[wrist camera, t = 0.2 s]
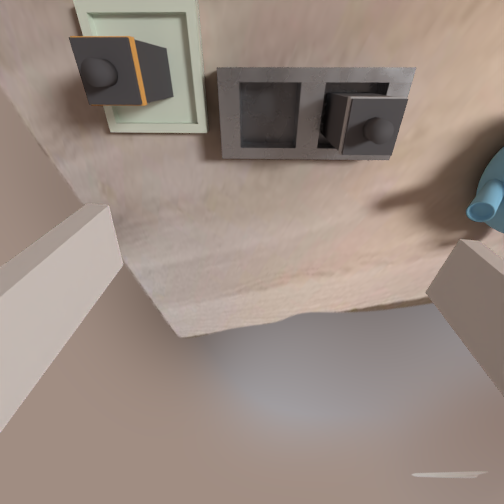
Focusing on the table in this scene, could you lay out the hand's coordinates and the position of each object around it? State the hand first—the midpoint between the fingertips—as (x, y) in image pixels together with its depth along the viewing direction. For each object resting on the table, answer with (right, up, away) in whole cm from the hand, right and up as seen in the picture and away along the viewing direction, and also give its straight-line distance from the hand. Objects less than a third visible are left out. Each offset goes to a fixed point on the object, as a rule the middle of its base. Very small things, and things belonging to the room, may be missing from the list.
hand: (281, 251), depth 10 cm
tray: (-13, +21, +19) cm, 31 cm away
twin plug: (+10, +16, +21) cm, 28 cm away
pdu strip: (+5, +17, +21) cm, 28 cm away
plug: (-13, +20, +19) cm, 31 cm away
